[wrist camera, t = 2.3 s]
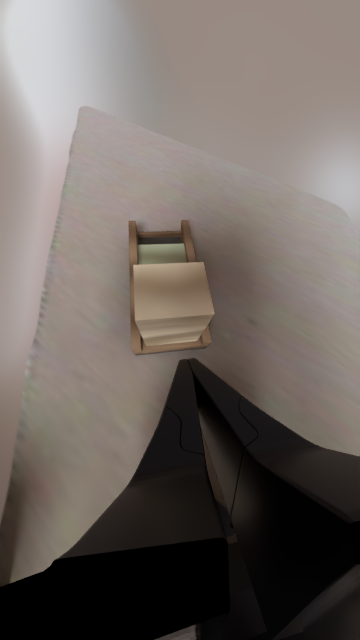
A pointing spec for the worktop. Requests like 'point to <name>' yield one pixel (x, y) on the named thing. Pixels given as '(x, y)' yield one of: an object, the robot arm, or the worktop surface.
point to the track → (160, 251)
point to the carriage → (171, 302)
